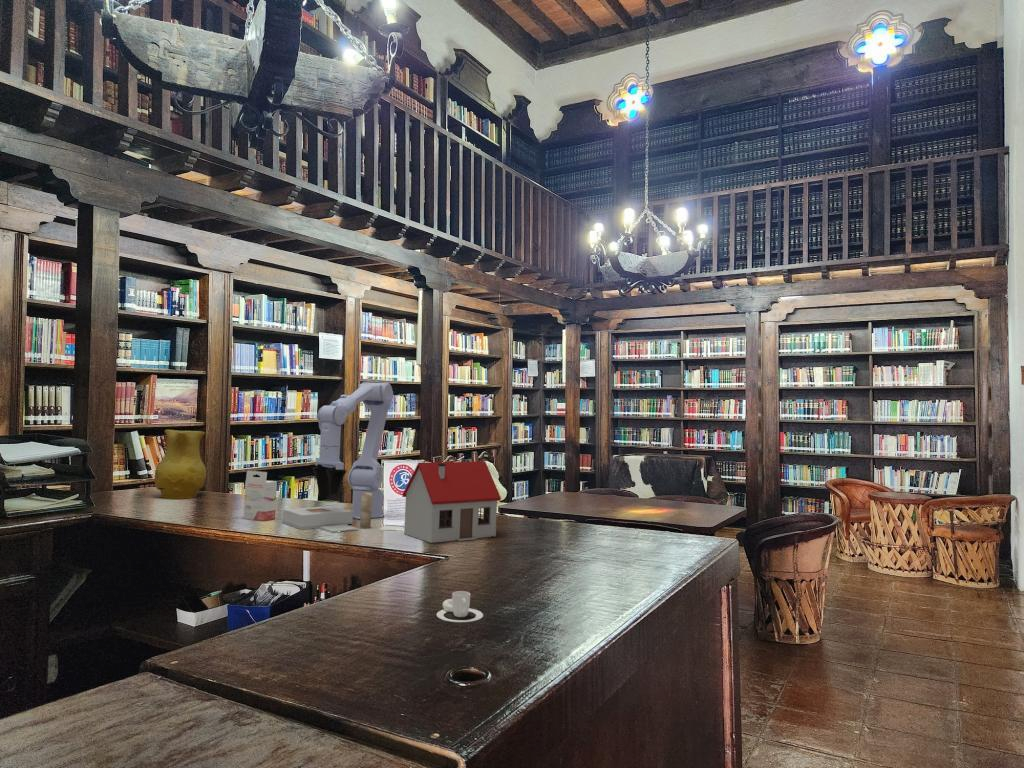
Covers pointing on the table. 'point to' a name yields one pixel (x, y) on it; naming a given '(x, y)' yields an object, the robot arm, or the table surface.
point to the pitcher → (181, 466)
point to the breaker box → (316, 517)
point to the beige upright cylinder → (366, 510)
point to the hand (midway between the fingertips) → (327, 492)
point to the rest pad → (338, 528)
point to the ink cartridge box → (259, 497)
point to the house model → (450, 502)
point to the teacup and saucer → (459, 607)
